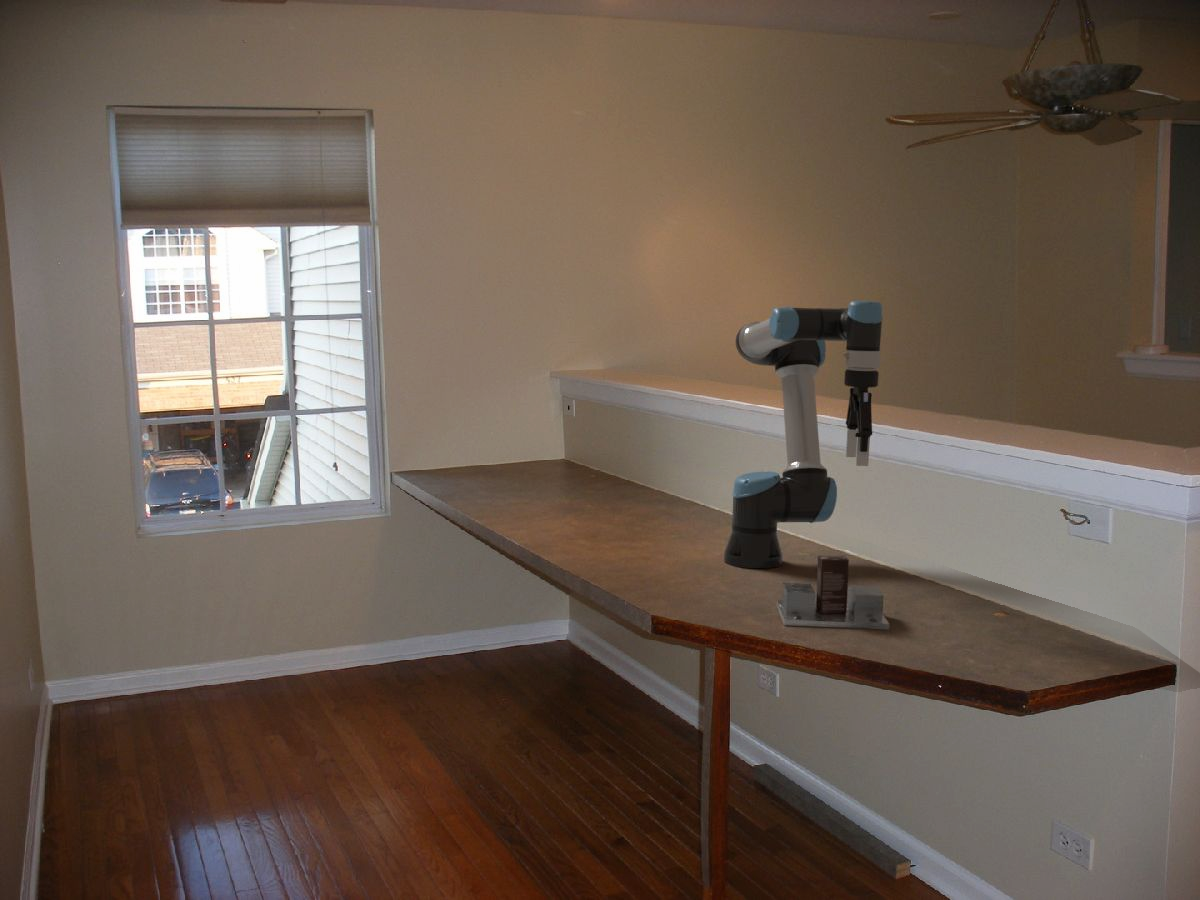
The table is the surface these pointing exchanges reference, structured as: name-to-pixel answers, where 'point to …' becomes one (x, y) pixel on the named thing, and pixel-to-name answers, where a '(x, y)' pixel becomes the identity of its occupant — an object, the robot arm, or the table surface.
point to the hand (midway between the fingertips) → (856, 461)
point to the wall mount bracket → (860, 613)
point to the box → (832, 584)
